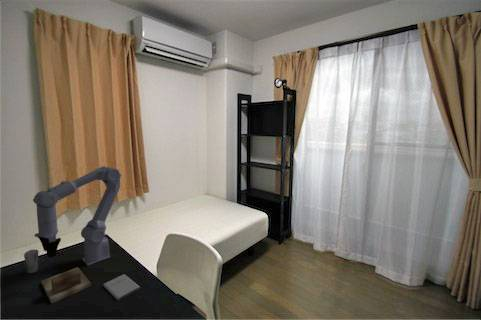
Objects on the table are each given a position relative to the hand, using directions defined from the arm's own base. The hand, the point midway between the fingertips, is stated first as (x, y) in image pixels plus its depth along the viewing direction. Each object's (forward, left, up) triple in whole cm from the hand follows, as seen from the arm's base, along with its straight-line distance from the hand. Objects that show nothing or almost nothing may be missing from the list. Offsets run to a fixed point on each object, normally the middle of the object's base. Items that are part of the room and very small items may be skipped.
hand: (49, 253), depth 90 cm
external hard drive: (-16, +28, -11) cm, 34 cm away
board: (-2, +10, -10) cm, 15 cm away
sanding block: (-2, +14, -9) cm, 16 cm away
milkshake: (+4, -11, -11) cm, 16 cm away
